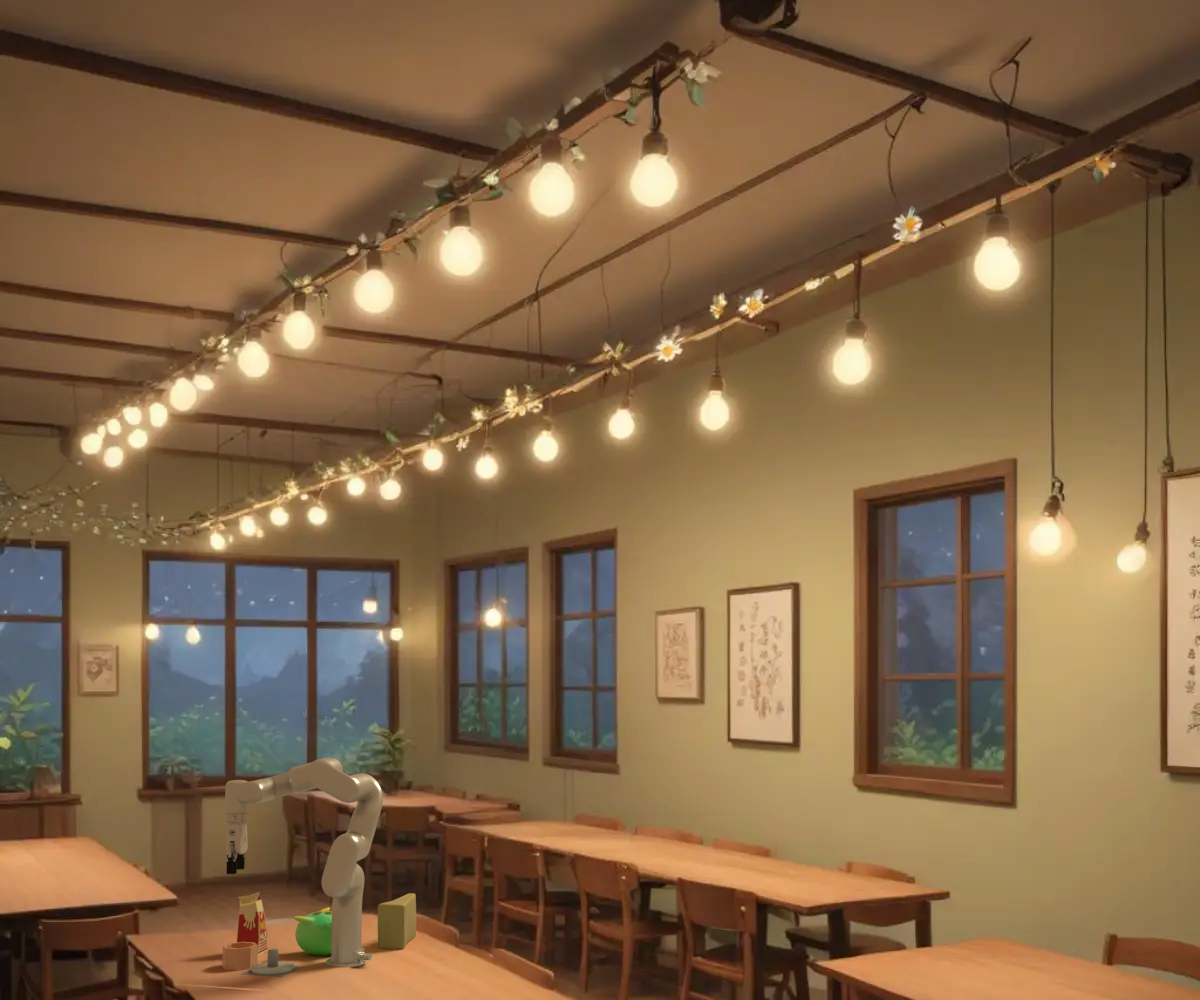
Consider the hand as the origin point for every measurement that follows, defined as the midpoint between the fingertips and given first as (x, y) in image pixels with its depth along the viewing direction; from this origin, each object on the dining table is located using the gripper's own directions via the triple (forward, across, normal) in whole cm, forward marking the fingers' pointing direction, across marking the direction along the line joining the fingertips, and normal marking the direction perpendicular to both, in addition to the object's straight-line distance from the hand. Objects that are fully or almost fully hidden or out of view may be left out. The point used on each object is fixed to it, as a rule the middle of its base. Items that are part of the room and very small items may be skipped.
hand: (235, 871), depth 432 cm
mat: (+28, -19, -17) cm, 38 cm away
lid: (+27, -19, -17) cm, 37 cm away
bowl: (+28, -13, -5) cm, 31 cm away
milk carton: (+28, +8, -3) cm, 29 cm away
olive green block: (+28, +24, -52) cm, 64 cm away
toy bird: (+28, +5, -28) cm, 40 cm away
